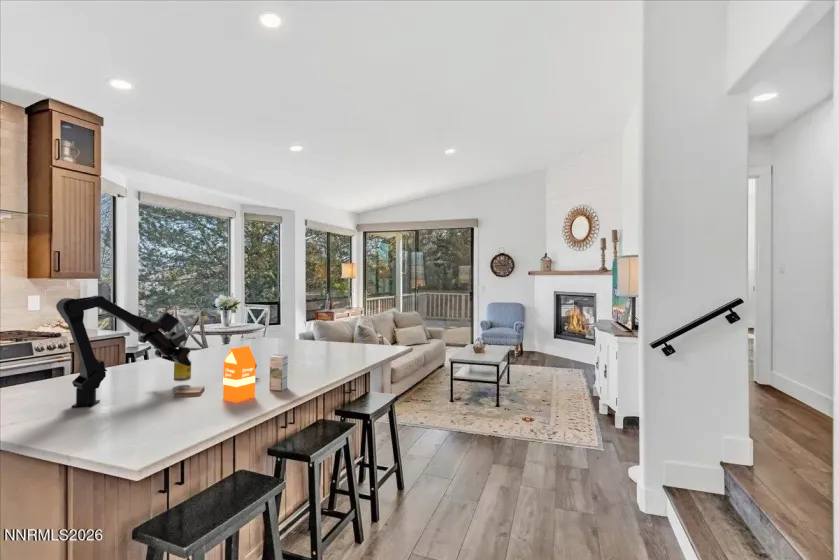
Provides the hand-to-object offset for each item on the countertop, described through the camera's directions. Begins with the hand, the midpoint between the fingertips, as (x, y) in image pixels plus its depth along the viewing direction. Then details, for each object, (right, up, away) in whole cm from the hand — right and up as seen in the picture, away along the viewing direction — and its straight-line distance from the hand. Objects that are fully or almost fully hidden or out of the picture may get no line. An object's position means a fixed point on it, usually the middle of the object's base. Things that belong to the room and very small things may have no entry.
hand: (185, 364), depth 186 cm
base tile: (+9, -9, -13) cm, 18 cm away
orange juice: (+31, -10, -18) cm, 37 cm away
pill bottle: (-1, -7, -1) cm, 7 cm away
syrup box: (+41, -10, -4) cm, 43 cm away
